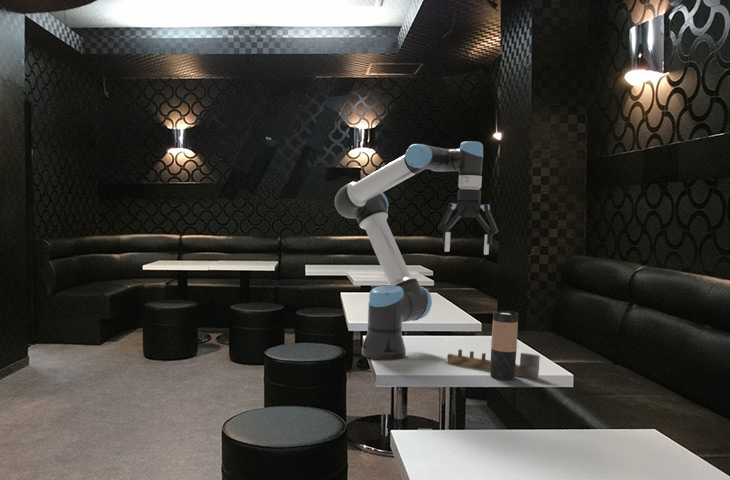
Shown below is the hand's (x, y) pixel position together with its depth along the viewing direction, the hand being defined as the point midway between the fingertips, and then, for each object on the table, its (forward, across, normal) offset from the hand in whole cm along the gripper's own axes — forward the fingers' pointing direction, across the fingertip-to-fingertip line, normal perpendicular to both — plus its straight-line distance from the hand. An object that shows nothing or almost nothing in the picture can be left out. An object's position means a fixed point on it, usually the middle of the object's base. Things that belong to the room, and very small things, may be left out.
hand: (466, 253), depth 200 cm
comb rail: (+37, +12, -4) cm, 39 cm away
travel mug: (+37, +17, -9) cm, 42 cm away
